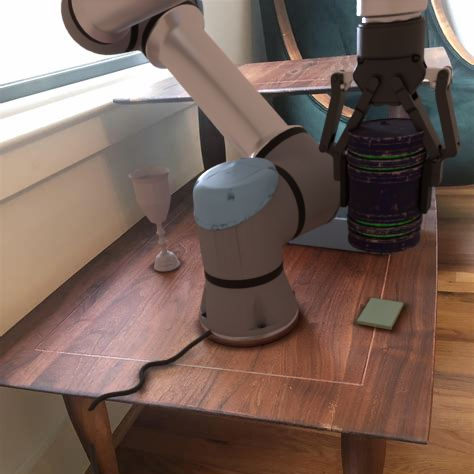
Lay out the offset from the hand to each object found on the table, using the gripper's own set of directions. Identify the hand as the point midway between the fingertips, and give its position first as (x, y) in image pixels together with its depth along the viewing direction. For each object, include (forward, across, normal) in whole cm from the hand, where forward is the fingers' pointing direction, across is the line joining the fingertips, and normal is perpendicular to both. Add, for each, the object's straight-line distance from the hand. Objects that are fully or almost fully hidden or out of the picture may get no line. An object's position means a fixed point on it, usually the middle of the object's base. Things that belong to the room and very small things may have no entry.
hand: (384, 206), depth 73 cm
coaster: (+17, 0, 0) cm, 17 cm away
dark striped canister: (+5, 0, 0) cm, 5 cm away
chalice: (+17, +42, -4) cm, 46 cm away
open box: (+17, +14, -26) cm, 35 cm away
